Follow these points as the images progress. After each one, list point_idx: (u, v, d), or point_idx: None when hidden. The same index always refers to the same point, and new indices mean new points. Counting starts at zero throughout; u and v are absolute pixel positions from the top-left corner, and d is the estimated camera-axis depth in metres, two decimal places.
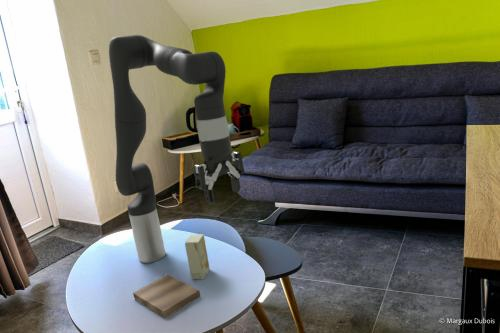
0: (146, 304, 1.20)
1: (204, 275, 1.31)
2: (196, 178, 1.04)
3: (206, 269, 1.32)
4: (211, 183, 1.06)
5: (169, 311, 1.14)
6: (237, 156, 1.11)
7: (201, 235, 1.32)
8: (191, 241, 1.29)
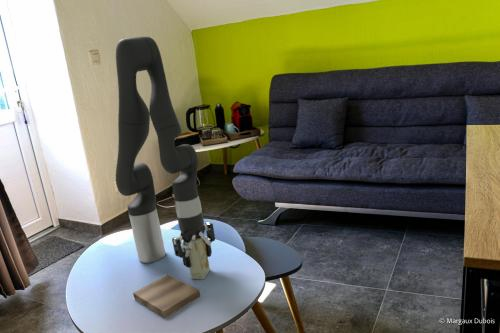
0: (146, 304, 1.20)
1: (204, 275, 1.31)
2: (175, 248, 1.27)
3: (206, 269, 1.32)
4: (187, 251, 1.28)
5: (169, 311, 1.14)
6: (209, 226, 1.33)
7: None
8: None
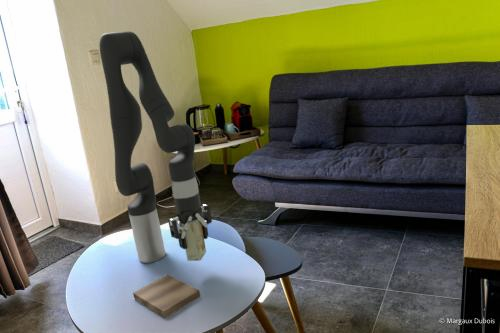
0: (146, 304, 1.20)
1: (200, 257, 1.29)
2: (171, 229, 1.25)
3: (202, 251, 1.31)
4: (183, 233, 1.26)
5: (169, 311, 1.14)
6: (206, 208, 1.32)
7: None
8: None
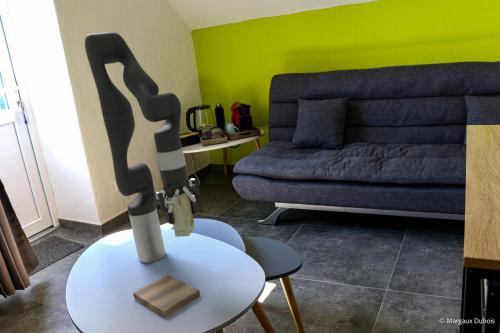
0: (146, 304, 1.20)
1: (189, 232, 1.24)
2: (157, 203, 1.20)
3: (190, 226, 1.26)
4: (170, 207, 1.21)
5: (169, 311, 1.14)
6: (194, 182, 1.27)
7: None
8: None
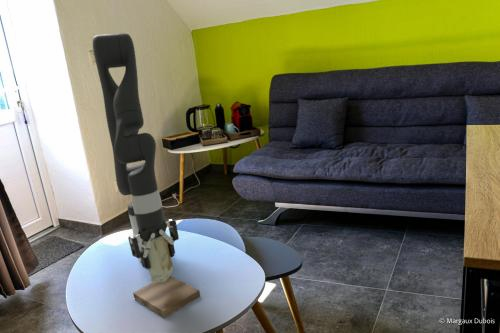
0: (146, 304, 1.20)
1: (166, 277, 1.18)
2: (131, 248, 1.14)
3: (168, 270, 1.20)
4: (146, 251, 1.15)
5: (169, 311, 1.14)
6: (172, 224, 1.21)
7: None
8: None
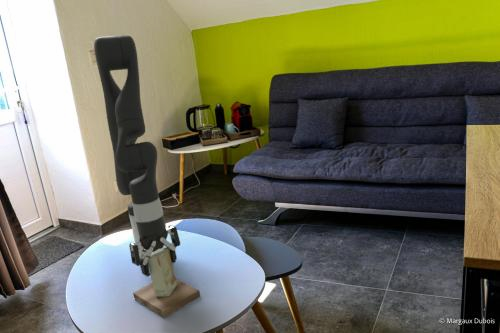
0: (146, 304, 1.20)
1: (169, 292, 1.20)
2: (131, 255, 1.15)
3: (171, 285, 1.21)
4: (146, 259, 1.16)
5: (169, 311, 1.14)
6: (173, 231, 1.21)
7: (166, 248, 1.21)
8: (153, 255, 1.18)
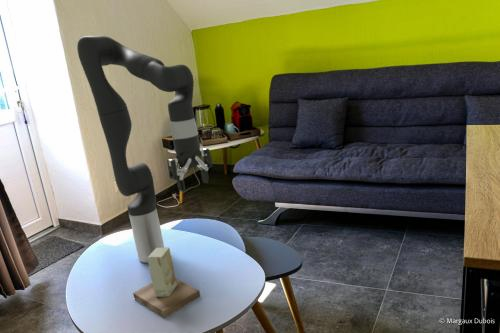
0: (146, 304, 1.20)
1: (169, 292, 1.20)
2: (169, 170, 1.25)
3: (172, 285, 1.22)
4: (182, 174, 1.26)
5: (169, 311, 1.14)
6: (206, 152, 1.31)
7: (166, 248, 1.21)
8: (154, 255, 1.18)
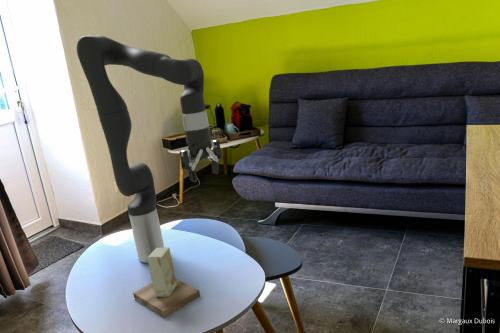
0: (146, 304, 1.20)
1: (169, 292, 1.20)
2: (181, 161, 1.29)
3: (172, 285, 1.22)
4: (194, 165, 1.30)
5: (169, 311, 1.14)
6: (216, 144, 1.35)
7: (166, 248, 1.21)
8: (154, 255, 1.18)
